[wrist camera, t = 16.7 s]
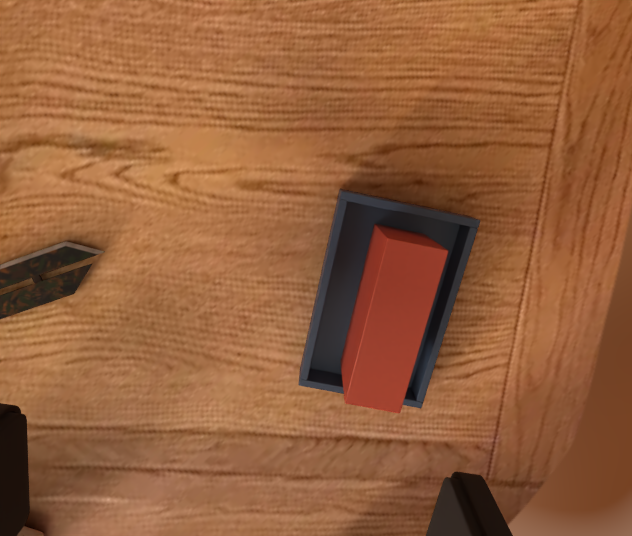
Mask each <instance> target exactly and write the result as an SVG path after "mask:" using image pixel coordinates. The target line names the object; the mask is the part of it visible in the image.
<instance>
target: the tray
mask: <svg viewBox="0 0 632 536" xmlns="http://www.w3.org/2000/svg"><path fill="white" fill-rule="evenodd" d="M374 224H379V225H384V226H389V227H394V228H398V229H403V230H408V231H413V232H417V233H422V234H425V235H426V236H428V237H429V238H431V239H432V240H434V241H435V242H437V243H438V244H439V245H441V246H442V247H444V248H445V249H447V250H448V251H449V252H448V255H447V258H446V262H445V265H444V268H443V272H442V275H441V278H440V282H439V285H438V288H437V292H436V295H435V298H434V302H433V305H432V308H431V312H430V315H429V318H428V322H427V325H426V328H425V332H424V335H423V338H422V342H421V345H420V348H419V352H418V355H417V358H416V362H415V365H414V368H413V372H412V375H411V378H410V382H409V385H408V388H407V392H406V395H405V398H404V401H403V405H407V406H412V407H417V408H421V407H422V404H423V401H424V398H425V395H426V391H427V388H428V385H429V382H430V379H431V375H432V372H433V369H434V366H435V363H436V360H437V356H438V353H439V350H440V347H441V344H442V341H443V337H444V334H445V331H446V328H447V325H448V322H449V318H450V315H451V312H452V309H453V306H454V303H455V299H456V296H457V293H458V290H459V287H460V283H461V280H462V277H463V274H464V271H465V268H466V264H467V261H468V258H469V255H470V252H471V249H472V245H473V242H474V239H475V236H476V233H477V230H478V229H477V228H478V227H479V224H480V220H478V219H475V218H473V217H470V216H466V215H461V214H457V213H452V212H447V211H443V210H438V209H433V208H429V207H424V206H419V205H414V204H410V203H405V202H400V201H396V200H391V199H386V198H382V197H377V196H372V195H367V194H363V193H358V192H353V191H349V190H344V189H340V190H339V194H338V199H337V203H336V208H335V213H334V217H333V222H332V226H331V231H330V235H329V240H328V244H327V249H326V253H325V258H324V263H323V267H322V272H321V276H320V281H319V285H318V290H317V294H316V299H315V304H314V308H313V313H312V317H311V322H310V326H309V331H308V335H307V340H306V345H305V349H304V354H303V358H302V363H301V367H300V375H299V385H300V386H305V387H311V388H316V389H321V390H327V391H332V392H337V393H343V394H344V390H343V381H342V372H341V363H340V361H341V357H342V353H343V349H344V345H345V341H346V337H347V333H348V329H349V325H350V321H351V316H352V312H353V308H354V304H355V300H356V296H357V292H358V288H359V284H360V280H361V276H362V272H363V268H364V264H365V260H366V256H367V252H368V248H369V244H370V240H371V235H372V231H373V227H374Z"/></svg>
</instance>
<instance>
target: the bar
mask: <svg viewBox="0 0 632 536" xmlns="http://www.w3.org/2000/svg"><path fill="white" fill-rule="evenodd" d="M448 252H449V251H448V250H447V249H445V248H444V247H442V246H441V245H439V244H438V243H437V242H435V241H434V240H432V239H431V238H429V237H428V236H426V235H425V234H422V233H417V232H413V231H408V230H403V229H398V228H394V227H389V226H384V225H379V224H374V227H373V231H372V235H371V240H370V244H369V248H368V252H367V256H366V260H365V264H364V268H363V272H362V276H361V280H360V284H359V288H358V292H357V296H356V300H355V304H354V308H353V312H352V316H351V321H350V325H349V329H348V333H347V337H346V341H345V345H344V349H343V353H342V357H341V361H340V363H341V372H342V381H343V390H344V399H345V403H346V404H352V405H357V406H363V407H368V408H373V409H379V410H384V411H389V412H395V413H400V411H401V408H402V405H403V401H404V398H405V395H406V392H407V388H408V385H409V382H410V378H411V375H412V372H413V368H414V365H415V362H416V358H417V355H418V352H419V348H420V345H421V342H422V338H423V335H424V332H425V328H426V325H427V322H428V318H429V315H430V312H431V308H432V305H433V302H434V298H435V295H436V292H437V288H438V285H439V282H440V278H441V275H442V272H443V268H444V265H445V262H446V258H447V255H448Z"/></svg>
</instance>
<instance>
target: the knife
mask: <svg viewBox="0 0 632 536" xmlns="http://www.w3.org/2000/svg"><path fill="white" fill-rule="evenodd" d="M101 253H104V251H101V250H97V249H93V248H90V247H86V246H82V245H78V244H75V243H71V242H67V241H65V242H62V243H59V244H57V245H54V246H51V247H48V248H46V249H43V250H40V251H37V252H34V253H32V254H29V255H26V256H23V257H20V258H18V259H15V260H12V261H9V262H6V263H4V264H1V265H0V289H1V288H4V287H7V286H10V285H13V284H16V283H19V282H21V281H24V280H27V279H30V278H32V279H33V281H34V283H35V284H32V285H29V286H26V287H23V288H21V289H18V290H15V291H12V292H9V293H6V294H3V295H1V296H0V319H2V318H5V317H8V316H11V315H14V314H17V313H20V312H22V311H25V310H28V309H31V308H34V307H37V306H40V305H43V304H46V303H49V302H52V301H54V300H57V299H60V298H63V297H66V296H69V295H72V294H74V293H75V291H76V290H77V288H78V286H79V285H80V283H81V282H82V280H83V278H84V277H85V275H86V273H87V272H88V270H89V268H90V267H91V265H92V264H89V265H86V266H83V267H81V268H78V269H75V270H72V271H69V272H66V273H63V274H61V275H58V276H55V277H52V278H49V279H46V280H42V278H41V276H40V275H41V274H44V273H47V272H50V271H53V270H56V269H58V268H61V267H64V266H67V265H70V264H73V263H75V262H78V261H81V260H84V259H87V258H90V257H92V256H95V255H98V254H101Z"/></svg>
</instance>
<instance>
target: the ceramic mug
mask: <svg viewBox="0 0 632 536" xmlns="http://www.w3.org/2000/svg"><path fill="white" fill-rule="evenodd" d="M17 536H44V534H43V533H42V532H40V531H37V530H34V529H31V528H28V527H25V526H24V527H23V528H22V529H21V531H20V532H19V533H18V535H17Z"/></svg>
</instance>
